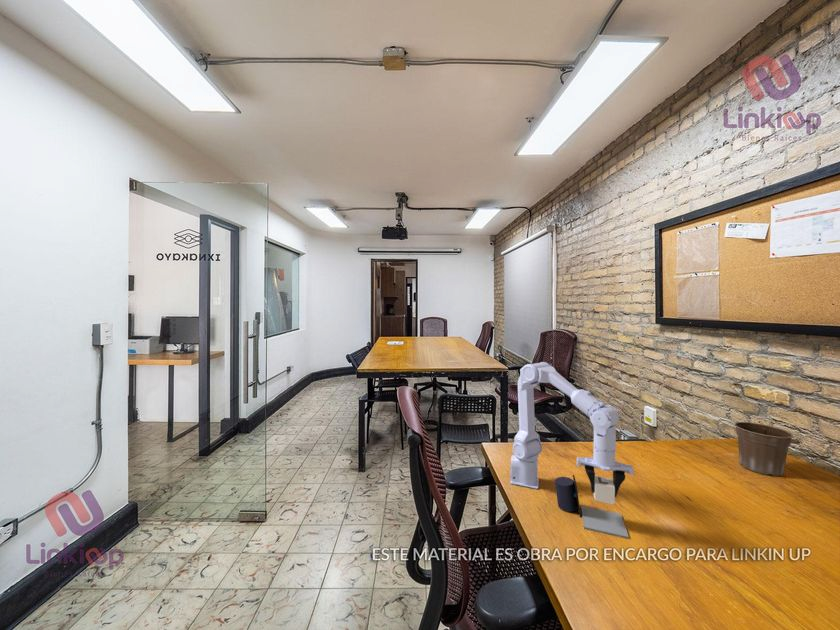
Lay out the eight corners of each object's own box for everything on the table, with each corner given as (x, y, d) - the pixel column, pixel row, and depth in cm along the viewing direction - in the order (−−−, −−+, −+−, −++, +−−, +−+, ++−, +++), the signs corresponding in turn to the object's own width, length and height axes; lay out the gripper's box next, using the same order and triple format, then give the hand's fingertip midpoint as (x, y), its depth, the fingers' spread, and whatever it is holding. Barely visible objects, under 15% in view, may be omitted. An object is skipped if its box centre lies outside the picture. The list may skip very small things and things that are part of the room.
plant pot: (796, 472, 128) (797, 431, 128) (788, 484, 119) (789, 440, 119) (739, 456, 142) (740, 419, 141) (728, 466, 133) (729, 426, 132)
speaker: (585, 508, 104) (582, 475, 104) (581, 517, 99) (577, 483, 99) (560, 501, 108) (557, 470, 109) (555, 510, 104) (551, 477, 104)
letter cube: (595, 500, 96) (595, 482, 96) (592, 491, 101) (593, 474, 101) (614, 504, 94) (614, 486, 94) (611, 495, 99) (611, 478, 99)
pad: (584, 528, 94) (584, 526, 94) (580, 507, 104) (580, 505, 104) (628, 538, 90) (628, 537, 90) (620, 515, 100) (620, 513, 100)
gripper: (578, 449, 96) (577, 494, 96) (636, 457, 91) (635, 506, 91) (576, 440, 103) (575, 483, 103) (630, 447, 97) (629, 492, 98)
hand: (603, 493), depth 97 cm, fingers closed on letter cube, 5 cm apart
